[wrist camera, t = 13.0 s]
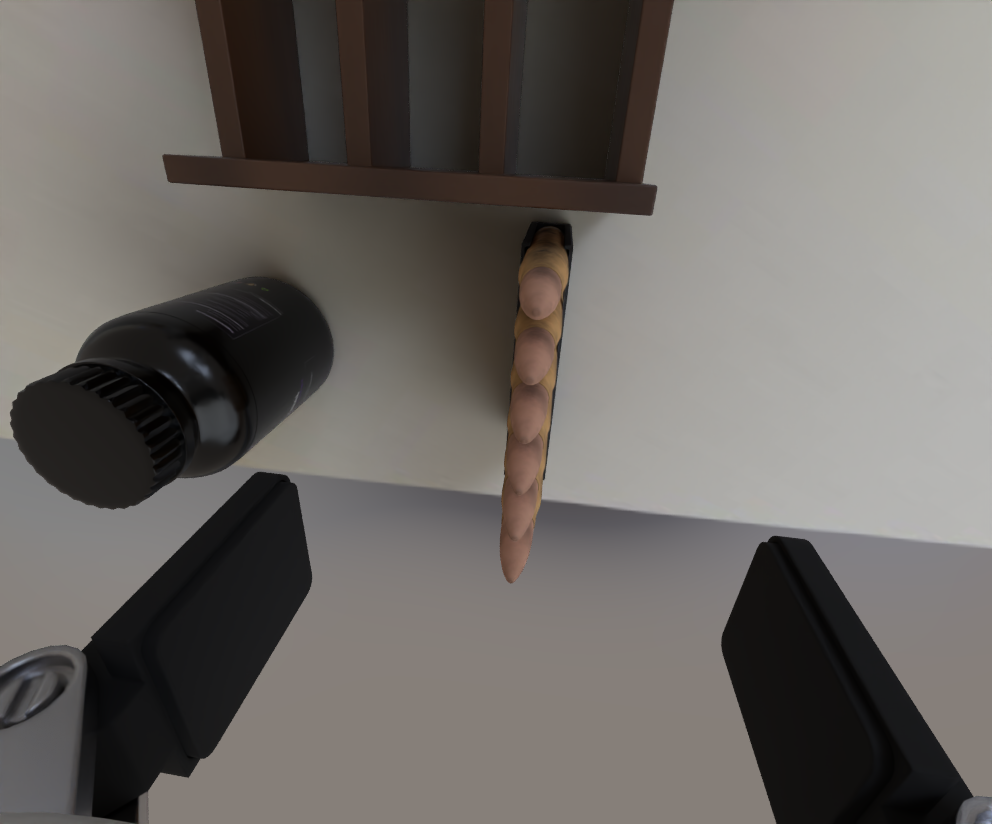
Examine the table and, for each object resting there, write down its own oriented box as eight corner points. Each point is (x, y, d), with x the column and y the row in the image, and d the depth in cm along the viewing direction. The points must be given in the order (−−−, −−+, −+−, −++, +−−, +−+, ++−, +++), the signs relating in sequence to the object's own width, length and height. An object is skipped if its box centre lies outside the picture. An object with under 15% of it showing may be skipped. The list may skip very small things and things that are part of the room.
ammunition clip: (547, 432, 27) (536, 607, 16) (513, 428, 27) (480, 599, 16) (572, 224, 22) (580, 275, 11) (530, 221, 22) (500, 268, 11)
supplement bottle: (337, 407, 27) (194, 556, 17) (221, 381, 28) (8, 513, 17) (341, 287, 24) (169, 378, 14) (210, 259, 25) (-60, 327, 14)
